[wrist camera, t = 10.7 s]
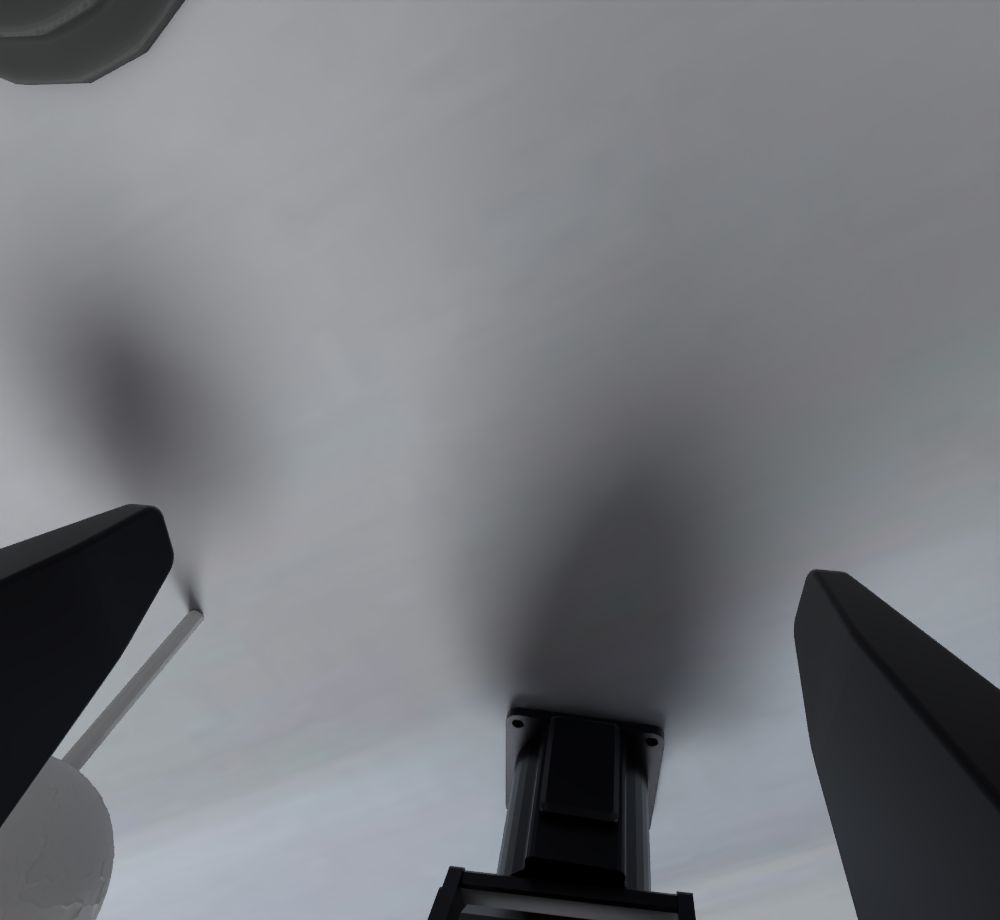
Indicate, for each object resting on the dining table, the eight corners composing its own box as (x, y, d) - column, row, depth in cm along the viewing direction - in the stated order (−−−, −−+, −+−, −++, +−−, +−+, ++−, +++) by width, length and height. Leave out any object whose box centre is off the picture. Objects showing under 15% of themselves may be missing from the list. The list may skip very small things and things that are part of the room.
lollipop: (109, 532, 27) (-365, 921, 14) (272, 570, 27) (-63, 1011, 14) (130, 655, 31) (-235, 1059, 18) (275, 691, 30) (9, 1134, 17)
